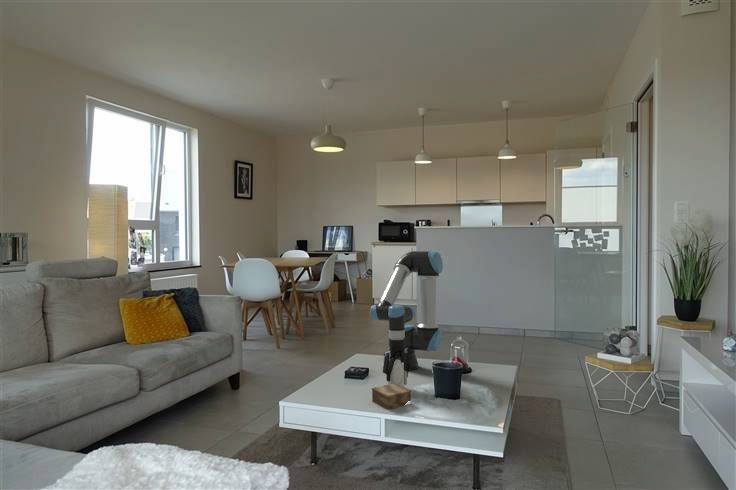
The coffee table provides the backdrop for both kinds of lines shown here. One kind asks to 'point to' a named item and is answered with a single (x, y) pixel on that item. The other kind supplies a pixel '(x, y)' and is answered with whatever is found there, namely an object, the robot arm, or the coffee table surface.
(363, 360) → the coffee table surface
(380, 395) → the walnut box
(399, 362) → the mug
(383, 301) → the robot arm
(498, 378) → the coffee table surface
